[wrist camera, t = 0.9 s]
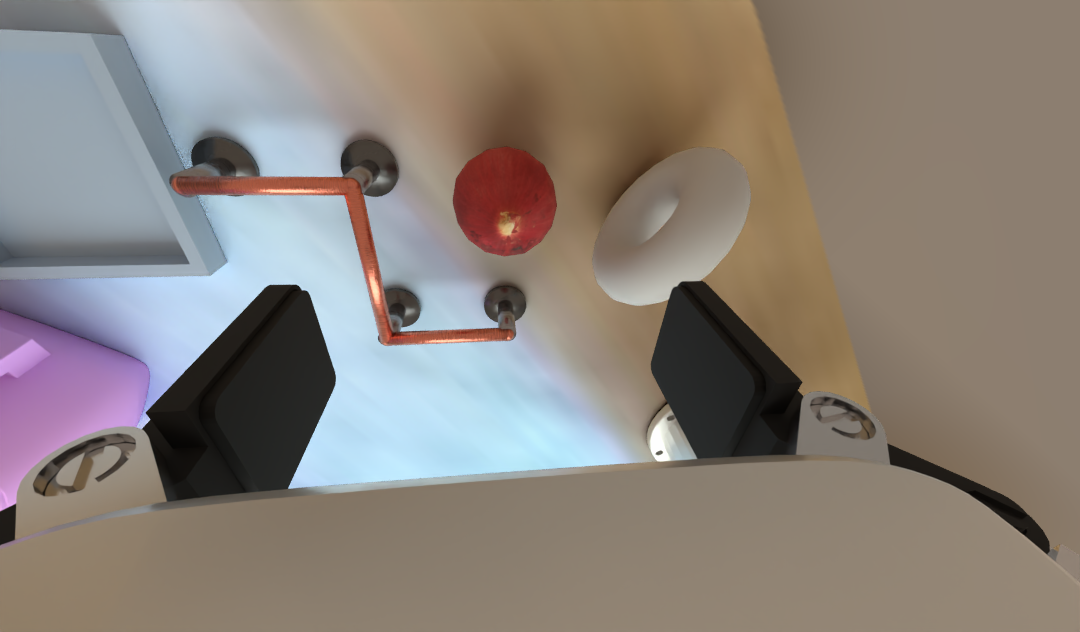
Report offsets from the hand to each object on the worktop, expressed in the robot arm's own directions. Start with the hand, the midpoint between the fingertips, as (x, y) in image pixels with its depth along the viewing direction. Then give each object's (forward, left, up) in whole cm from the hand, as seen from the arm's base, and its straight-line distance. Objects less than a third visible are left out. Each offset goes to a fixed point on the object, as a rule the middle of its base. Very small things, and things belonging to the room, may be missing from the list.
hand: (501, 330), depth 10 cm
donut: (-2, -10, -17) cm, 20 cm away
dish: (0, +24, -17) cm, 29 cm away
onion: (-1, -1, -17) cm, 17 cm away
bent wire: (-5, +7, -17) cm, 19 cm away
